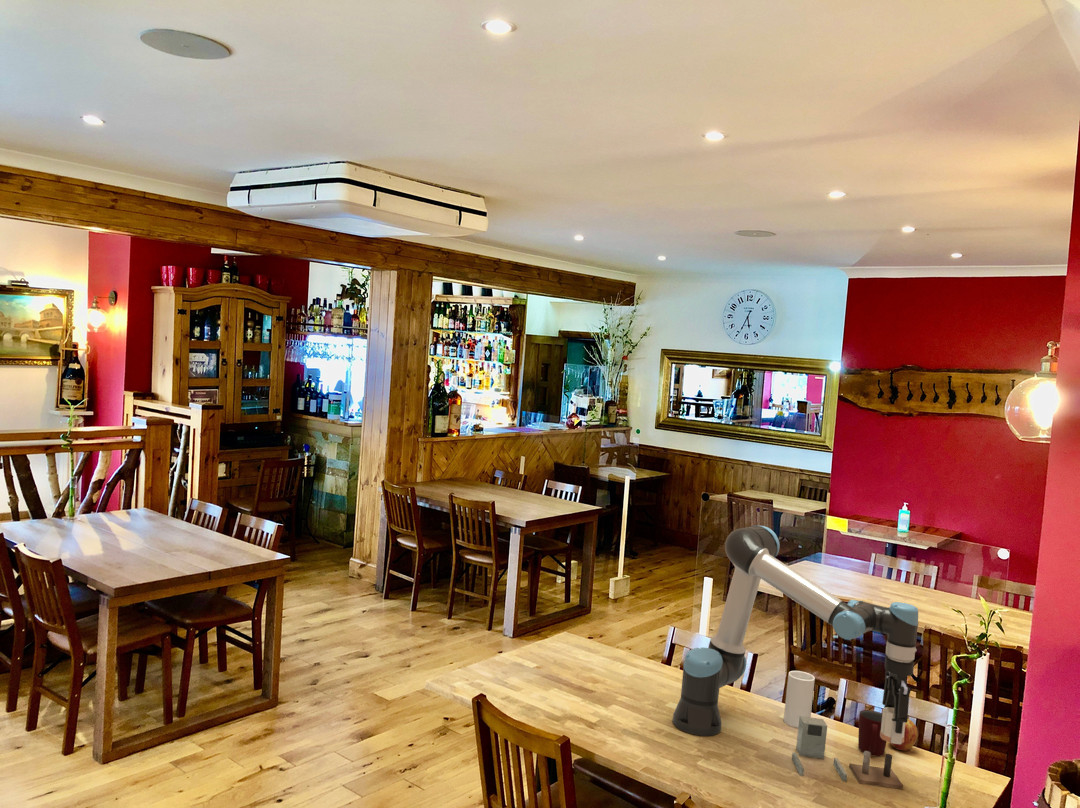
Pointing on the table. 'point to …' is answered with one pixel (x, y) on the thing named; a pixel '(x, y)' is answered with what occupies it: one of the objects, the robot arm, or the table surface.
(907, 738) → the apple
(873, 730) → the mug
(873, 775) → the brown peg board
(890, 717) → the sleeve
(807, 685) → the cup
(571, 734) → the table surface
